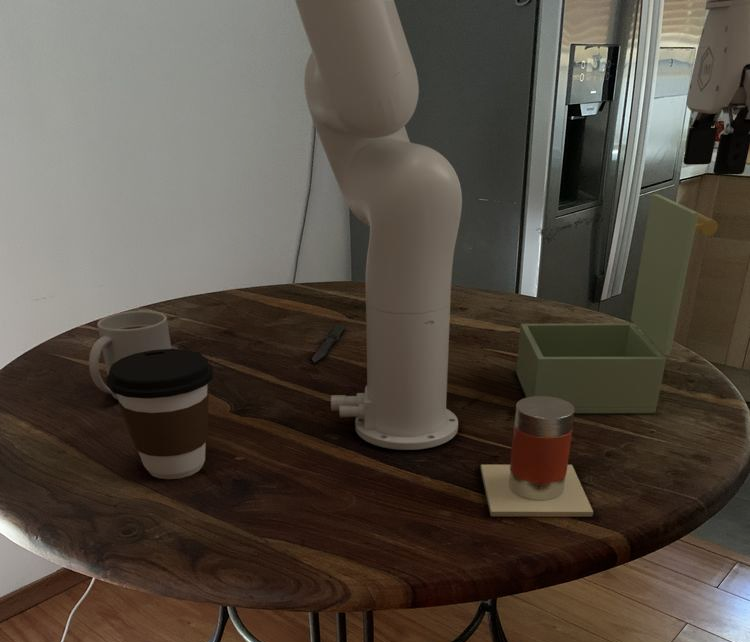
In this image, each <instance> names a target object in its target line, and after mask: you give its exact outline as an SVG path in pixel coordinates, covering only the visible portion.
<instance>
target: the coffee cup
mask: <svg viewBox="0 0 750 642" xmlns="http://www.w3.org/2000/svg"><path fill="white" fill-rule="evenodd" d="M213 379H214V367H213V365H212V364H210V363H209V359H208V358H207V357H205V356H204V355H202V354H201V353H200V352H197V351H193V350H189V349H178V348H171V349H162V350H151V351H146V352H140V353H135V354H133V355H130V356H127V357H124V358H121V359H120V360H118V361H117V362H115V363H114V364H112V366H111V368H110V371H109V374H107V377H106V380H105V383H106V386H107V387H108V388H109V389H110V390H111V391H112V392H113V393H116V394H117V397H118V399H119V400H117V404H118V407H119V409H120V412H121V414H122V417H123V420H124V422H125V425H126V428H127V431H128V434H129V437H130V439H131V441H132V443H133V446H134V448H135V449H136V450H137V452H138V455H139V457H140V459H141V462H142V465H143V466H144V468H145V469H146V470H147V472H148V473H149V474H150V475H151V477H154V478H157V479H159V480H160V479H162V480H176V479H178V480H179V479H184V478H186V477H190V476H192V475H194V474H196V473H198V472H199V471H200V470H201V469H202V468H203V466H204V465H205V461H206V445H207V444H206V443H207V441H208V433H209V432H208V430H209V429H208V428H209V427H208V426H209V397H210V396H209V395H210V394H209V392H210V389H209V388H208V384H209V383H210V382H211V381H212V380H213Z"/></svg>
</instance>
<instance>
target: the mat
mask: <svg viewBox="0 0 750 642" xmlns="http://www.w3.org/2000/svg"><path fill="white" fill-rule="evenodd" d="M480 473H481V478H482V483H483V486H484V492H485V497H486V501H487V506H488V510H489V514H490V517H550V518H551V517H553V518H554V517H555V518H556V517H558V518H559V517H562V518H563V517H564V518H567V517H568V518H569V517H572V518H573V517H577V518H579V517H580V518H581V517H585V518H586V517H587V518H591V517H593V516H594V510H593V508H592V506H591V504H590V501H589V499H588V496H587V495H586V493H585V491H584V488H583V486H582V484H581V481H580V479H579V477H578V474H577V473H576V470H575V468H574V466H573V464H568V466H567V473H566V477H565V484H564V491H563V493H562V494H561V495H560V496H559V497H557V498H555V499H551V500H544V501H538V500H530V499H525V498H522V497H520V496H518V495H516V494H514V493H513V492H512V491H511V490H510V488H509V477H510V464H480Z"/></svg>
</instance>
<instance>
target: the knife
mask: <svg viewBox="0 0 750 642" xmlns="http://www.w3.org/2000/svg"><path fill="white" fill-rule="evenodd" d="M344 329H346V323H342V322H341V323H340V322H339V323H336V324H334V326H333V328H332V329H331V331H330V332H329V333H328V335H327V337H324V338H321V341H322V342H321V344H320V346H319V347H318V349H317V350H316V351H315V353H314V355H313V356H312V357H311V360H312V361H313V363H315V364H316V362H319V361H320V360H322V359H323V358H324V357H325V356H326V355H327V354H328V351H329V350H330V348H331V347H332V345H333V344H335V343H338V342H340V341H341V337H340V336H341V334H342V333H343V331H344Z"/></svg>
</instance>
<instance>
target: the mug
mask: <svg viewBox="0 0 750 642" xmlns="http://www.w3.org/2000/svg"><path fill="white" fill-rule="evenodd" d="M97 330H98V334H99V338H98V339H97V340H96V341H95V342H94V343H93V345H92V347H91V349H90V352H89V358H88V369H89V373H90V374H89V375H90V377H91V379H92V381H93V383H94V385H95V386H96V387H97V388H98V389H99V391H102V393H106V394H110V395H111V396H112V397H113V398H114V399H115V400H117V401H119V399H118V397H117V394H116V393H113V392H112V391H111V390H110V389H109V388H108V387H107V384H105V382H104V380H103V379H102V377H101V374H100V368H99V363H100V357H101V353H102V355H103V359H104V364H105V369H106V375H108V374H109V371H110V368H111V366H112V364H114V363H115V362H117V361H118V360H120V359H121V358H124V357H127V356H130V355H133V354H135V353H140V352H146V351H151V350H162V349H172V343H171V337H170V330H169V324H168V319H167V316H166V314H164V313H162V312H160V311H154V310H130V311H129V310H128V311H123V312H117V313H112V314H110V315H107V316H104V317H102V318H101V319H99V320H98V321H97Z"/></svg>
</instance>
